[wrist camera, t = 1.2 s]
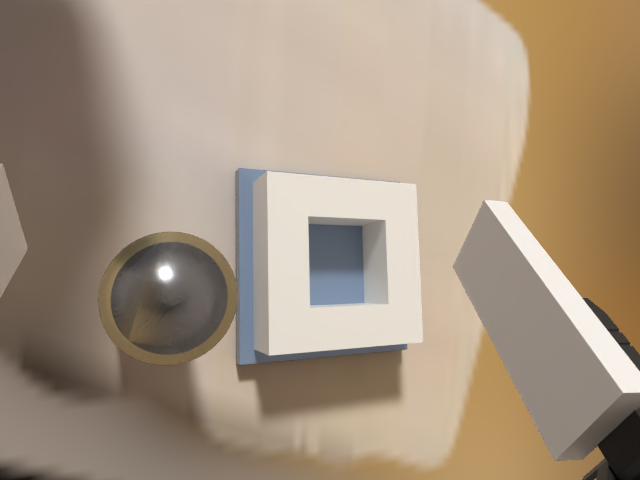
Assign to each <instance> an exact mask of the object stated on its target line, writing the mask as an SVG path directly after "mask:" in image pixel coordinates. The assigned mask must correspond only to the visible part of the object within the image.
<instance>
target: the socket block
mask: <svg viewBox="0 0 640 480" xmlns="http://www.w3.org/2000/svg"><path fill="white" fill-rule="evenodd" d="M236 286H237V306H236V363H237V364H239V365H245V364H256V363H267V362H277V361H288V360H299V359H309V358H320V357H331V356H342V355H352V354H363V353H374V352H384V351H395V350H406V349H407V344H408V343H419V342H423V327H422V305H421V283H420V261H419V239H418V217H417V195H416V184H408V183H400V182H391V181H380V180H368V179H357V178H346V177H334V176H323V175H312V174H300V173H289V172H278V171H266V170H255V169H244V168H239V169H238V170H237V171H236Z"/></svg>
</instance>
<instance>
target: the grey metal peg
mask: <svg viewBox="0 0 640 480" xmlns="http://www.w3.org/2000/svg"><path fill="white" fill-rule="evenodd" d="M98 300H99V312H100V317H101V320H102V323H103V326H104V328H105V330H106V332H107V334H108V335H109V337H110V338H111V340H112V341H113V342H114V343H115V344H116V345H117V346H118V347H119V348H120V349H121V350H122V351H124V352H125V353H126V354H128V355H129V356H131V357H133V358H135V359H137V360H140V361H142V362H145V363H149V364H154V365H176V364H181V363H185V362H189V361H191V360H194V359H196V358H198V357H200V356H202V355H203V354H205V353H207V352H208V351H209V350H211V349H212V348H213V347H214V346H215V345H216V344H217V343H218V342H219V341H220V340H221V339H222V338H223V336H224V335H225V334H226V332H227V330H228V329H229V327H230V325H231V323H232V321H233V318H234V315H235V311H236V306H237V286H236V281H235V277H234V274H233V271H232V269H231V267H230V265H229V263H228V262H227V260H226V259H225V257H224V256H223V255H222V254H221V253H220V252H219V251H218V250H217V249H216V248H215V247H214V246H212V245H211V244H209V243H208V242H207V241H205V240H203V239H201V238H199V237H196V236H193V235H191V234H186V233H181V232H161V233H155V234H151V235H148V236H145V237H143V238H140V239H138V240H136V241H135V242H133V243H131V244H129V245H128V246H127V247H126V248H124V249H123V250H122V251H121V252H120V253H119V254H118V255H117V256H116V257H115V258H114V259H113V261H112V262H111V263H110V265H109V267H108V268H107V270H106V272H105V274H104V277H103V279H102V282H101V286H100V290H99V299H98Z"/></svg>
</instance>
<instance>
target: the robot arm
mask: <svg viewBox="0 0 640 480" xmlns="http://www.w3.org/2000/svg"><path fill="white" fill-rule="evenodd" d="M27 250H28V247H27V243H26V240H25V237H24V233H23V230H22V227H21V223H20V220H19V216H18V213H17V210H16V206H15V203H14V199H13V196H12V193H11V189H10V186H9V182H8V179H7V176H6V172H5V169H4V166H3V164H1V163H0V298H1V296H2V294H3V292H4V291H5V289H6V287H7V285H8V284H9V282H10V280H11V278H12V277H13V275H14V273H15V271H16V270H17V268H18V266H19V264H20V263H21V261H22V259H23V257H24V255H25V254H26V252H27ZM453 268H454V270H455V272H456V274H457V276H458V277H459V279H460V281H461V283H462V285H463V287H464V289H465V291H466V293H467V295H468V297H469V299H470V300H471V302H472V304H473V306H474V308H475V310H476V312H477V314H478V316H479V318H480V320H481V321H482V323H483V325H484V327H485V329H486V331H487V333H488V335H489V337H490V339H491V341H492V343H493V344H494V346H495V348H496V350H497V352H498V354H499V356H500V358H501V360H502V361H503V364H504V365H505V367H506V369H507V371H508V373H509V375H510V377H511V379H512V381H513V383H514V384H515V386H516V388H517V390H518V392H519V394H520V396H521V398H522V400H523V402H524V404H525V406H526V407H527V409H528V411H529V413H530V415H531V417H532V419H533V421H534V423H535V425H536V427H537V428H538V431H539V432H540V434H541V436H542V438H543V440H544V442H545V444H546V446H547V448H548V450H549V452H550V453H551V455H552V457H553V459H554V461H564V460H580V459H581V460H582V459H584V458H585V457H586V456H587V455H588V454H589V453H590V452H592V451H593V450H594V448H596V447H597V446H598V447H599V449H600V450H601V452H602V454H603V455H604V457H605V459H603V460H602V461H601V462H600V463H599V464H598V465H597V466H596V467H594V468H593V469H592V470H591V471H590V472H589V473H587V474H586V475H585V476H584V477H583V479H582V480H594V479H595V478H597V480H640V355H639V353H638V352H637V351H636V350H635V348H634V347H633V346H630V342H629V341H628V340H627V339H626V337H625V336H624V335H623V334H622V333H619V329H618V327H617V326H616V325H615V324H614V323H613V321H611V319H610V318H609V316H608V315H607V314H606V313H605V312H604V311H603V310H601V309H600V308H599V307H598V306H596V305H595V304H594V303H593V302H591V301H590V300H589V299H588V298H582V297H581V296H580V295H579V294H578V292H577V291H576V290H575V288H574V287H573V286H572V285H571V284H570V282H569V281H568V279H567V278H566V277H565V276H564V274H563V273H562V272H561V271H560V269H559V268H558V267H557V266H556V264H555V263H554V262H553V261H552V259H551V258H550V257H549V255H548V254H547V253H546V251H545V250H544V249H543V248H542V247H541V245H540V244H539V243H538V241H537V240H536V239H535V238H534V236H533V235H532V234H531V232H530V231H529V230H528V229H527V227H526V226H525V225H524V224H523V222H522V221H521V220H520V218H519V217H518V216H517V215H516V213H515V212H514V211H513V210H512V208H511V207H510V206H509V204H508V203H507V202H503V201H490V200H484V201H483V203H482V206H481V208H480V210H479V212H478V214H477V216H476V218H475V221H474V223H473V225H472V227H471V229H470V231H469V233H468V236H467V238H466V240H465V242H464V244H463V246H462V248H461V250H460V253H459V255H458V257H457V259H456V261H455V263H454V265H453Z"/></svg>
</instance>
